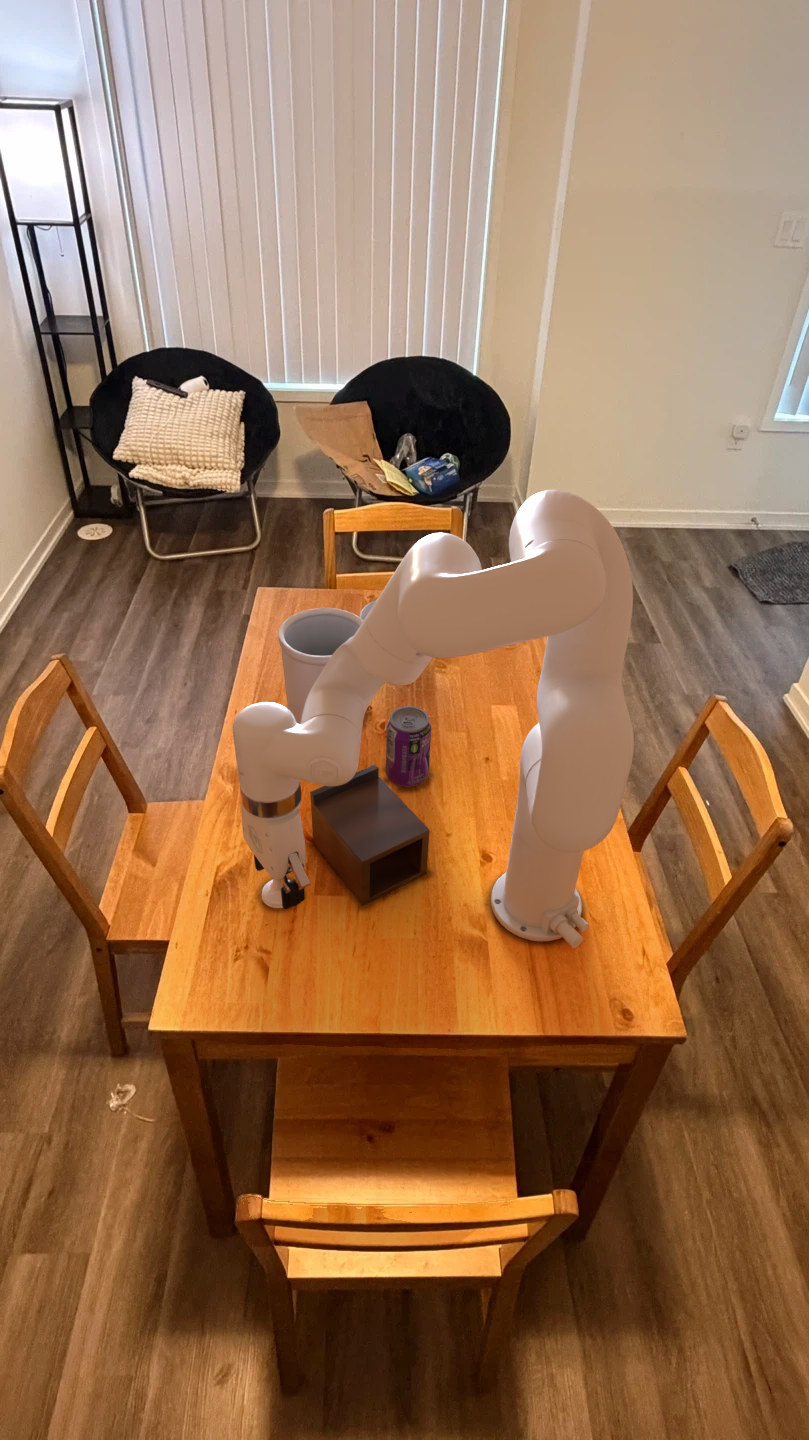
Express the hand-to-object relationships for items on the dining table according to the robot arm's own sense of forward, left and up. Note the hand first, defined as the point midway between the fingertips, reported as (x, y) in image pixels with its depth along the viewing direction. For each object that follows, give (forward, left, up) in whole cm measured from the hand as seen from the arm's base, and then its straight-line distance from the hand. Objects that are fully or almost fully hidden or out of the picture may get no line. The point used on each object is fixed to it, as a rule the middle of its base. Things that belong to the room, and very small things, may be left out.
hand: (279, 883), depth 119 cm
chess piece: (0, 0, -3) cm, 3 cm away
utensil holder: (+32, -26, -3) cm, 41 cm away
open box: (-1, -14, -2) cm, 14 cm away
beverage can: (+11, -29, -3) cm, 31 cm away
